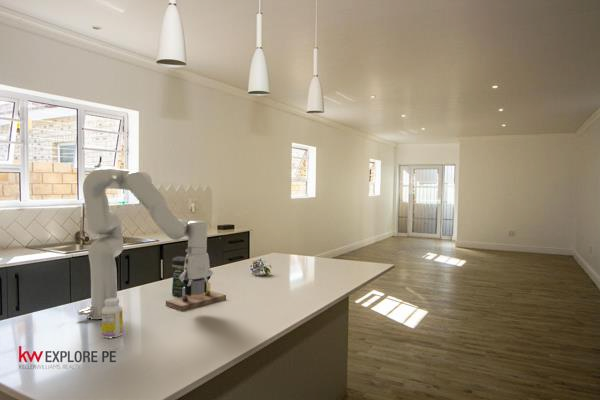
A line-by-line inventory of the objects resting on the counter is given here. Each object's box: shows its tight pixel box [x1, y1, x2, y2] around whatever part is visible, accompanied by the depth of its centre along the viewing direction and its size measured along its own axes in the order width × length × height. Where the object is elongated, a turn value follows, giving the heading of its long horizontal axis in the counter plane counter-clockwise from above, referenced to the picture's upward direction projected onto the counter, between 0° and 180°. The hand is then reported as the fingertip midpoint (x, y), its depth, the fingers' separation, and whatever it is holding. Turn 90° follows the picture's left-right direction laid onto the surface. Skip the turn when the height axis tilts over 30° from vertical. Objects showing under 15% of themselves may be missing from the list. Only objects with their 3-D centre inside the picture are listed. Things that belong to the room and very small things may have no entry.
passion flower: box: [247, 257, 273, 277], centre depth 244 cm, size 11×11×12 cm
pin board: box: [165, 290, 227, 312], centre depth 186 cm, size 24×12×2 cm, turn 139°
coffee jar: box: [171, 256, 186, 297], centre depth 199 cm, size 10×8×19 cm
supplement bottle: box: [101, 297, 124, 339], centre depth 144 cm, size 7×7×13 cm
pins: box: [181, 281, 211, 301], centre depth 186 cm, size 14×2×6 cm, turn 139°
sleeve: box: [187, 278, 205, 298], centre depth 170 cm, size 7×7×7 cm
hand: (195, 293), depth 170 cm, fingers closed on sleeve, 6 cm apart
